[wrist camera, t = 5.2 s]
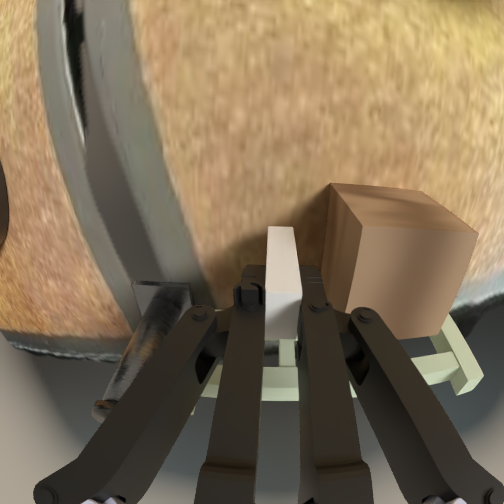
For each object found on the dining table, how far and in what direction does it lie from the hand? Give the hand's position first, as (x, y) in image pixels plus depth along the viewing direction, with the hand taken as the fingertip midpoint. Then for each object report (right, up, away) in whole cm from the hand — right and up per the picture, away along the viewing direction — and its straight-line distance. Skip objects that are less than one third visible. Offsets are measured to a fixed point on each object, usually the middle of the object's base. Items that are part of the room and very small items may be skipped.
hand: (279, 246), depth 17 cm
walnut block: (+7, +1, +1) cm, 7 cm away
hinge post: (-9, -5, +5) cm, 12 cm away
